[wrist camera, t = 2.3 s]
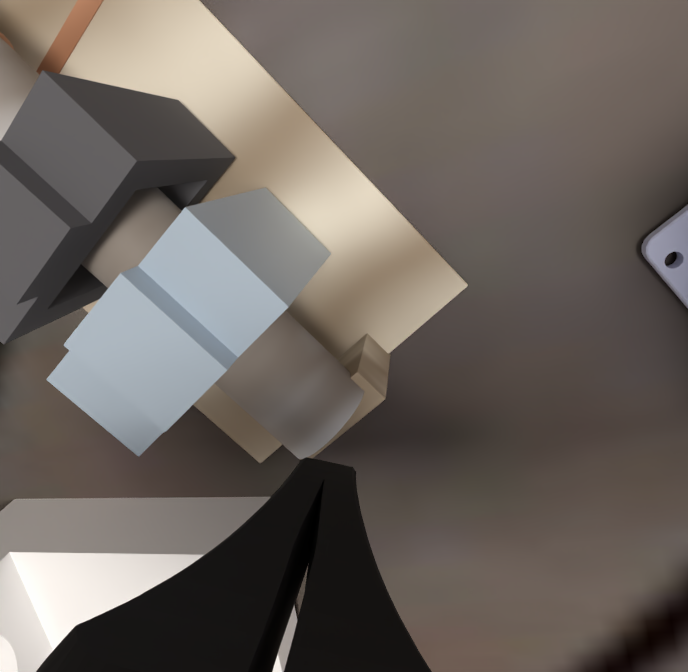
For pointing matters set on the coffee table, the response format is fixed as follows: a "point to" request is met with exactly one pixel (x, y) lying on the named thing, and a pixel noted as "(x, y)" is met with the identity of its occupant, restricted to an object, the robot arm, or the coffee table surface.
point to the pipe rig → (243, 176)
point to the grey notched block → (85, 186)
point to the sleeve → (186, 313)
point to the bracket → (100, 562)
